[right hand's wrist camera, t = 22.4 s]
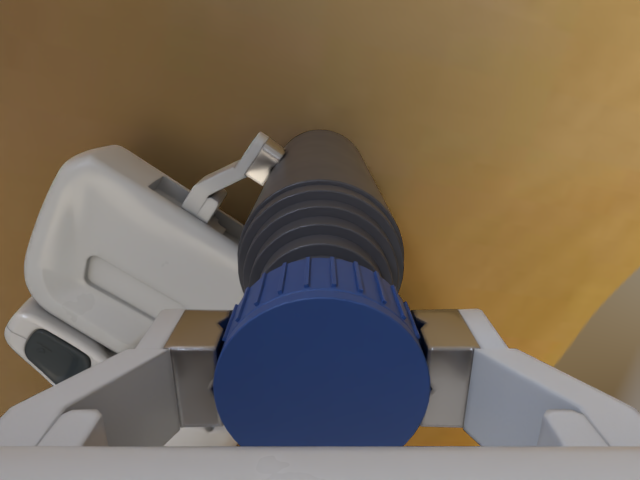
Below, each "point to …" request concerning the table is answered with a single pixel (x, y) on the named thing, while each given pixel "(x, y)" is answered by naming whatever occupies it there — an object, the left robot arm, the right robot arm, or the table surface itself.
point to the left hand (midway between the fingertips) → (330, 181)
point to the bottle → (320, 213)
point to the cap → (321, 360)
